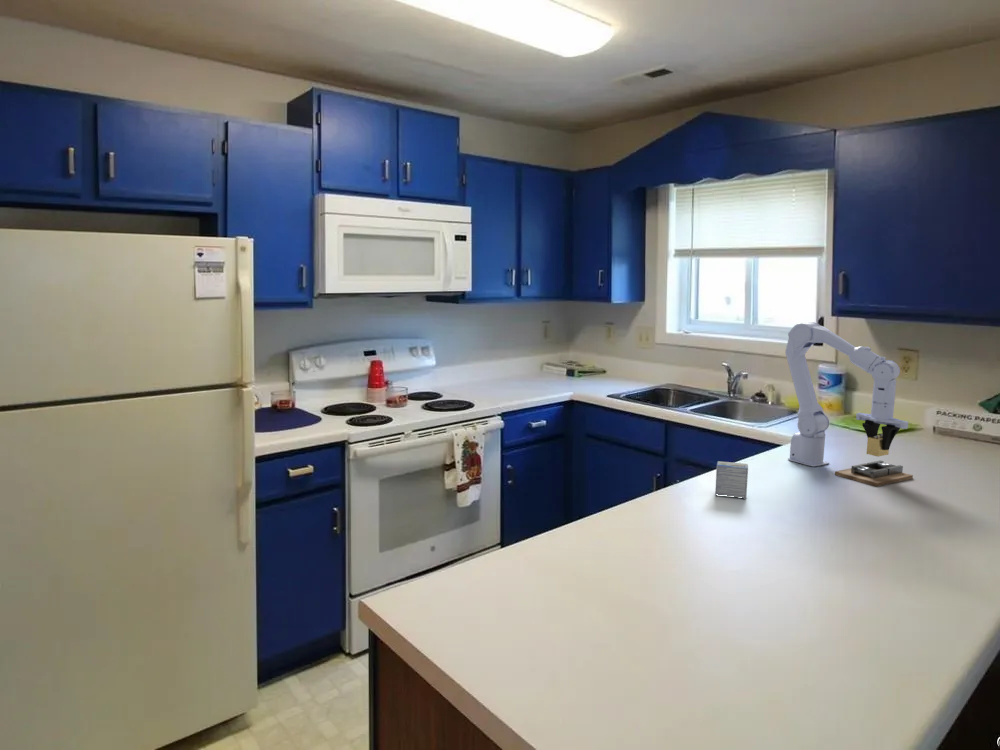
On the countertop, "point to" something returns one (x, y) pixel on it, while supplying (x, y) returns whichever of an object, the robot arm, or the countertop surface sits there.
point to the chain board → (876, 481)
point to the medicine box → (731, 479)
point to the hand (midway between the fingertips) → (878, 448)
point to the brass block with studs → (876, 446)
